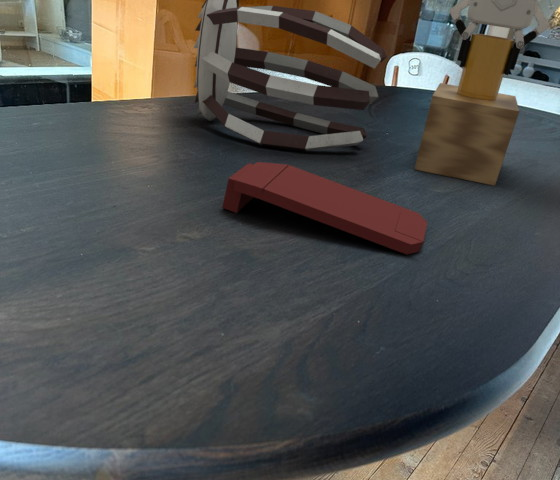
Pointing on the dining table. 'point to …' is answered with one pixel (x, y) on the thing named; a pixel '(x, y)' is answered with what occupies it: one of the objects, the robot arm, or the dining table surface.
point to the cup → (484, 66)
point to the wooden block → (466, 135)
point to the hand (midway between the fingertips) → (483, 69)
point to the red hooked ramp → (327, 204)
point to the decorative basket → (234, 69)
